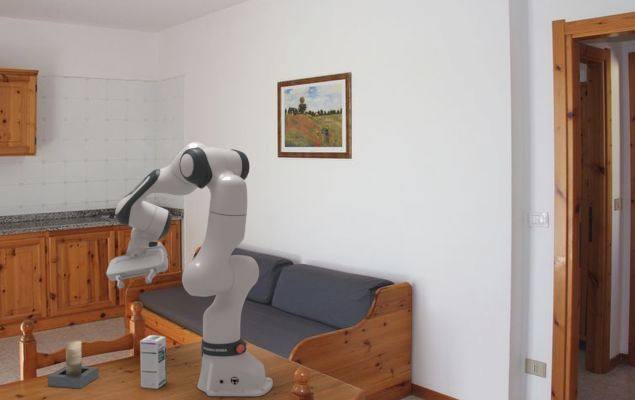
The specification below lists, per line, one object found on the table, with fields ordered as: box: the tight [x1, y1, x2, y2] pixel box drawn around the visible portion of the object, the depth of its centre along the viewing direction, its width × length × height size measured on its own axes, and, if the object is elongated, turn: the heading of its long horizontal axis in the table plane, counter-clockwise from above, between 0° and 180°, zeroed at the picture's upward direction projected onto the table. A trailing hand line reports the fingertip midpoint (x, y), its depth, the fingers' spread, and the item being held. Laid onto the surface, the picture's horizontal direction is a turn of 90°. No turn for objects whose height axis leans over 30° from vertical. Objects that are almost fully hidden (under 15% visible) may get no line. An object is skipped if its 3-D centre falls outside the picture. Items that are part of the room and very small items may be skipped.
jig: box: [47, 365, 100, 390], centre depth 191 cm, size 11×11×3 cm
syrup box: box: [139, 334, 168, 390], centre depth 189 cm, size 6×6×14 cm
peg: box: [65, 340, 83, 376], centre depth 191 cm, size 4×4×12 cm
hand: (134, 284), depth 203 cm, fingers open, 8 cm apart
